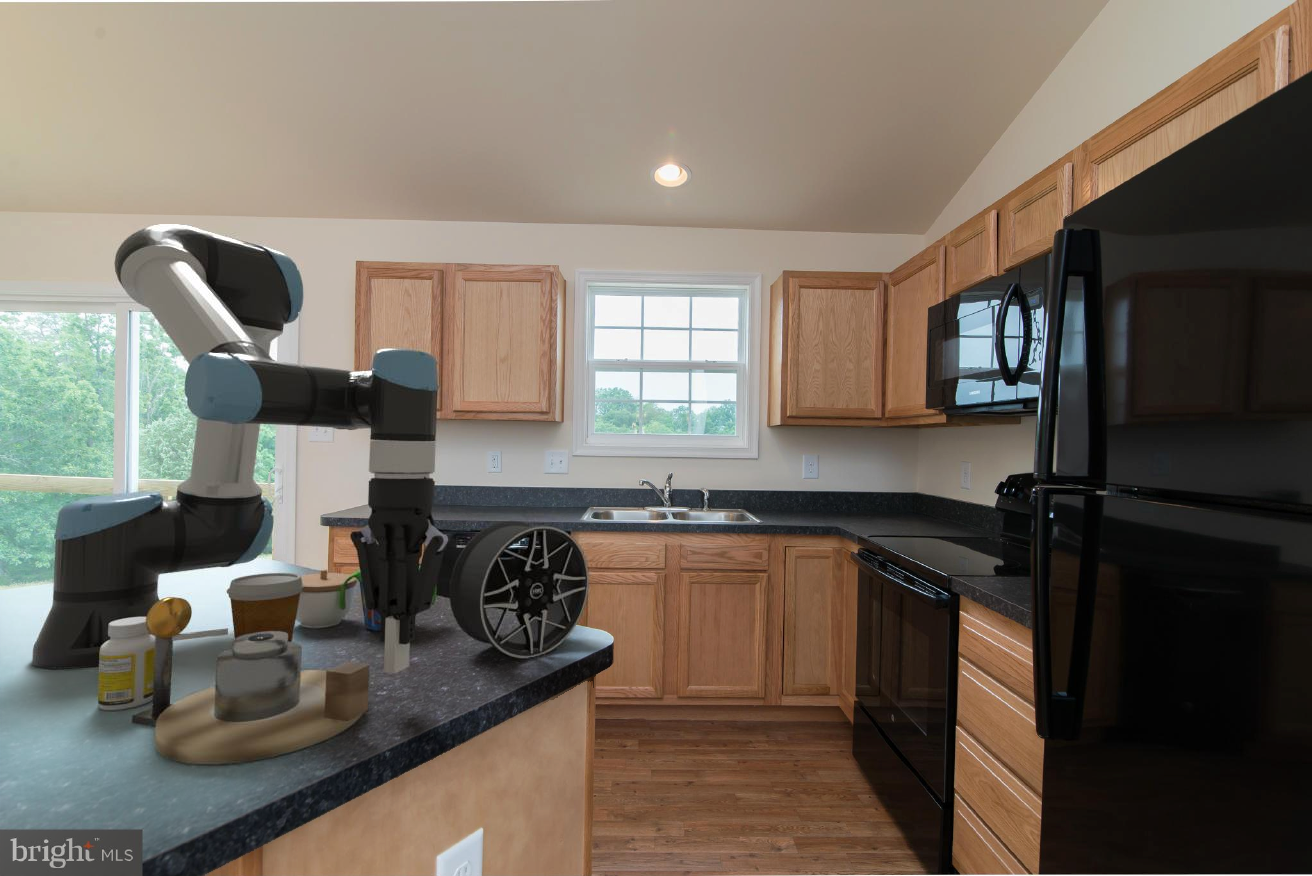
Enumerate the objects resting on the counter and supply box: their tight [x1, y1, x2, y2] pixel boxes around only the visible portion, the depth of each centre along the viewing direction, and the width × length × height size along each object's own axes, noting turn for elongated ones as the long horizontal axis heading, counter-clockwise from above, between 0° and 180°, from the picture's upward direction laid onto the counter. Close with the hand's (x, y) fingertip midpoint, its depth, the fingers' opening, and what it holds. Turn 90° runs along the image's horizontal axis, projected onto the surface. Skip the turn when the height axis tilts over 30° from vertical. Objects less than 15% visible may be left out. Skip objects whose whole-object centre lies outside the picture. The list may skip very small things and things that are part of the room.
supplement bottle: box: [97, 617, 155, 712], centre depth 74 cm, size 5×5×10 cm
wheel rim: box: [448, 520, 590, 659], centre depth 97 cm, size 20×9×20 cm, turn 136°
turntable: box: [154, 661, 370, 765], centre depth 69 cm, size 22×20×7 cm
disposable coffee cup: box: [226, 572, 304, 642], centre depth 88 cm, size 10×10×12 cm
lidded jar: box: [295, 569, 358, 629], centre depth 108 cm, size 11×11×9 cm
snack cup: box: [340, 565, 438, 632], centre depth 107 cm, size 16×10×10 cm
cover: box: [214, 631, 303, 722], centre depth 68 cm, size 8×8×8 cm
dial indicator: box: [131, 596, 229, 728], centre depth 71 cm, size 6×7×14 cm
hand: (396, 669), depth 75 cm, fingers closed
